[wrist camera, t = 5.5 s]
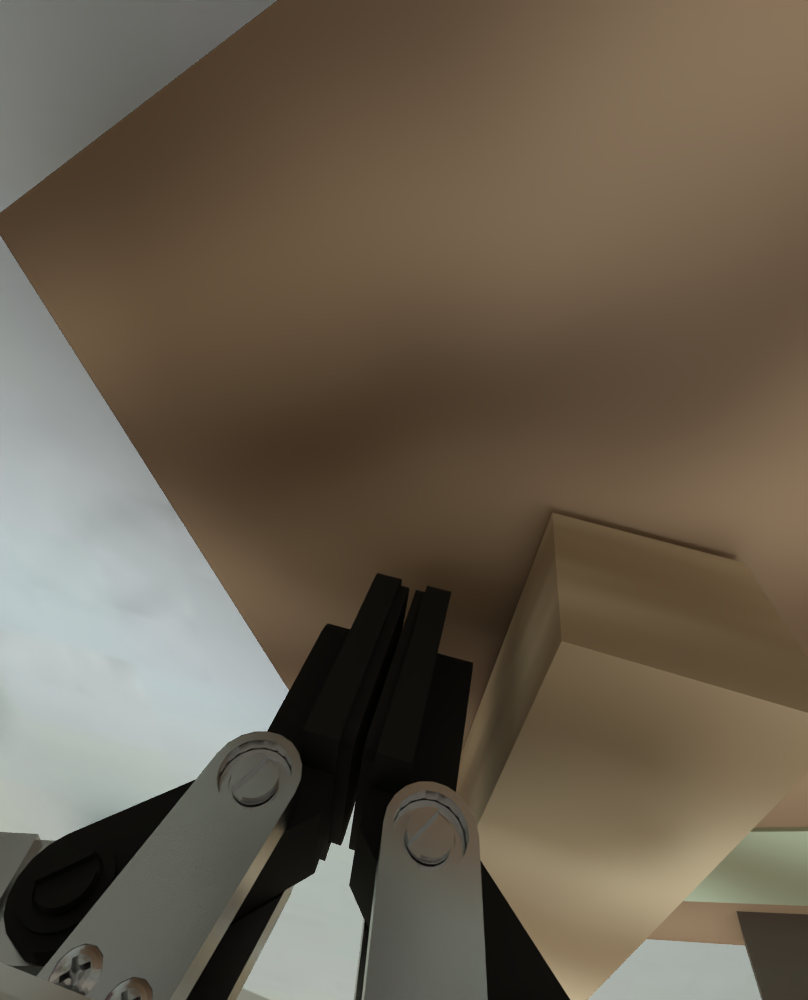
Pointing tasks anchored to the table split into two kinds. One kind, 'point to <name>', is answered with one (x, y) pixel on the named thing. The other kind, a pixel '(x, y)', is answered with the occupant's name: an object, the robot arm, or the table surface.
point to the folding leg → (628, 739)
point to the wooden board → (465, 321)
